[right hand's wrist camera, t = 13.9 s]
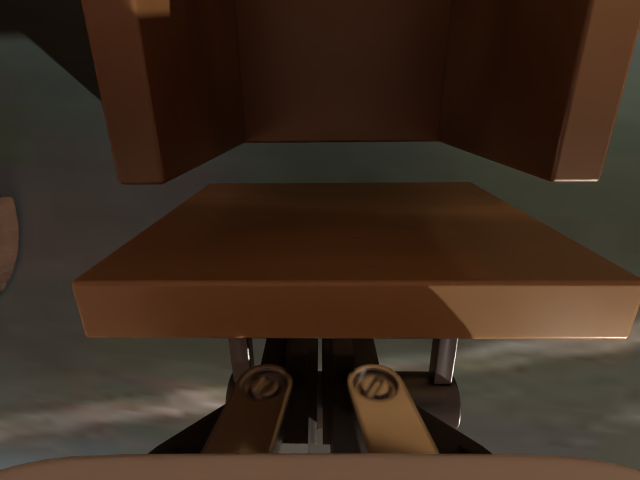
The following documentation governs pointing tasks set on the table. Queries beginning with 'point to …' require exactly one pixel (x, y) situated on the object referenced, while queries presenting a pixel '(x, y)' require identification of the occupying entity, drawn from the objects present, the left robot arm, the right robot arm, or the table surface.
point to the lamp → (7, 239)
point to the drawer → (359, 198)
